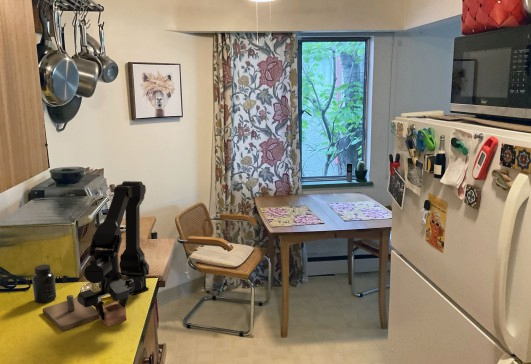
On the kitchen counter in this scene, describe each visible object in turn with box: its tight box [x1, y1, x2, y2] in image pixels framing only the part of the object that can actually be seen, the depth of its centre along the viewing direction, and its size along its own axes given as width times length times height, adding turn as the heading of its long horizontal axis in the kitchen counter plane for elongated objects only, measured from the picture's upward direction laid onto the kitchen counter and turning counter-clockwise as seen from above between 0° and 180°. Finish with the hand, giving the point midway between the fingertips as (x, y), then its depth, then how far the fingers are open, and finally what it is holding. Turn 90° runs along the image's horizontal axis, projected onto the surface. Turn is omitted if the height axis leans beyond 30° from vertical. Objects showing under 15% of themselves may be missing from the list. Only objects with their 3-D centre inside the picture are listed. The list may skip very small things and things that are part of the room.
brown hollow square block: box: [98, 301, 127, 328], centre depth 140 cm, size 6×6×4 cm
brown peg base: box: [42, 294, 99, 332], centre depth 143 cm, size 12×16×6 cm
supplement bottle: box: [31, 263, 57, 305], centre depth 153 cm, size 7×7×12 cm
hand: (112, 316), depth 140 cm, fingers closed on brown hollow square block, 6 cm apart
